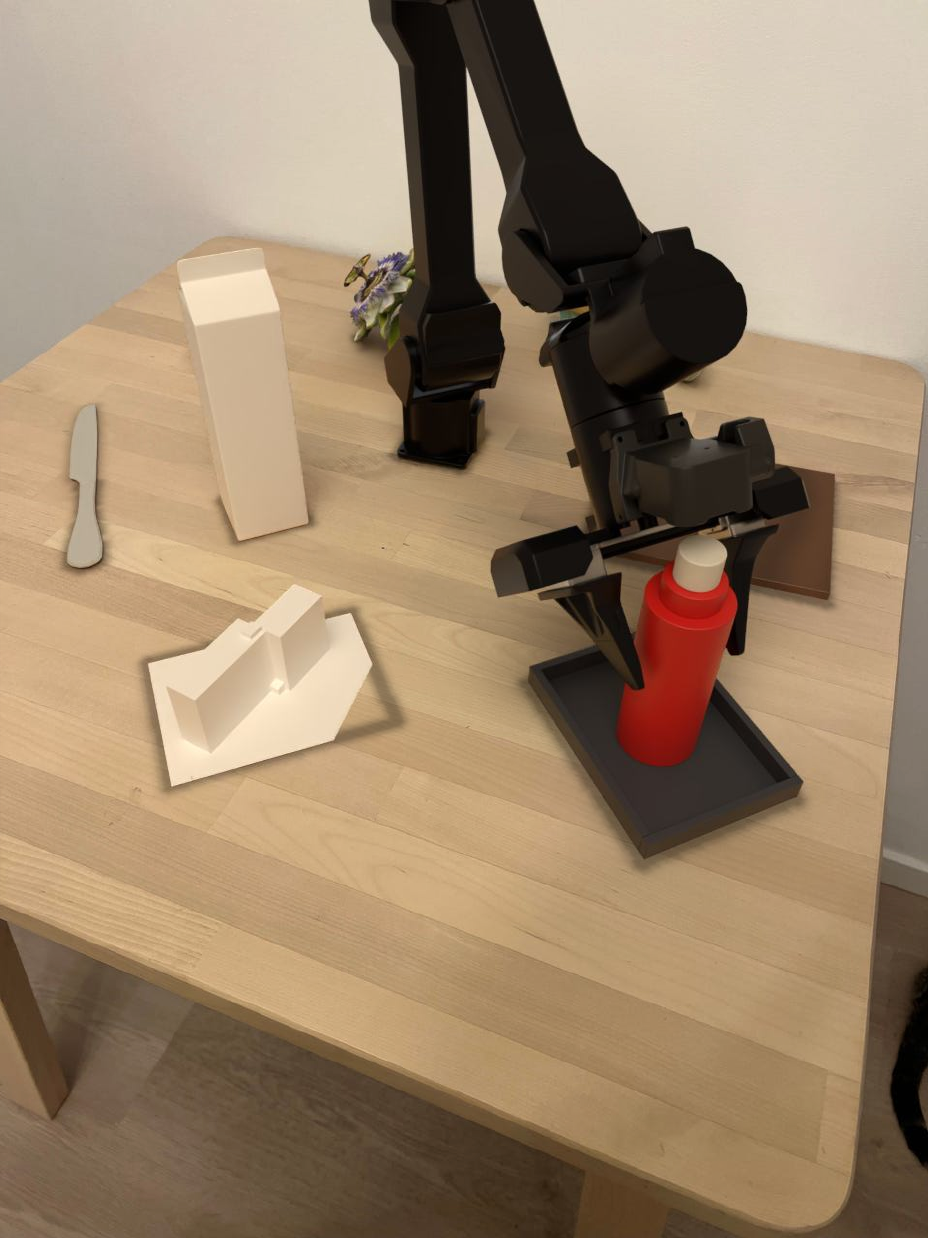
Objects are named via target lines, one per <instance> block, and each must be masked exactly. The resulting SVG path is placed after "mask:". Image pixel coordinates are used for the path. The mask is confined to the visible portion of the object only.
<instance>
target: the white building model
mask: <svg viewBox="0 0 928 1238" xmlns="http://www.w3.org/2000/svg"><path fill="white" fill-rule="evenodd" d="M357 626H358V625H357V624H356V622H355V619H354V617H353V615H352V613H351V612H349V613H345V614H340V615H336V616H332V617H329V618H326V615H325V608H324V600H323V595H321V594H319V593H317V592H314V591H312V590H310V589H308V588H305V587H304V586H300V585H298V584H296V583H294V584H292V586H290V587H289V588H288V589H287V590H286V591H285V592H284V593H283V594H282V595H281V596H280V597H279V598H278V599H277V600H276V601H275V602H274V603H272V604H271V606H270V607H268V608H267V609H266V610H265V611H264V612H263V613H261V615H260V616H259V617H258V618H257V619H256V620H254V621H252V620H251V621H249V622H248V621H245V620H243V619H241V618H239V617H238V618H237V619H236V620H234V621H233V622H232V623H231V624H230V625H228V627H227V628H226V629H225V630H224V631H223V632H221V633H220V635H218V636H217V637H216V638H215V639H214V640H213V641H212V642H211V643H209V645H208V646H207V647H205V648H204V649H200V650H196V651H193V652H189V653H184V654H181V655H176V656H172V657H168V658H165V659H161V660H157V661H152V662H148V663H147V667H148V671H149V677H150V682H151V687H152V692H153V697H154V702H155V707H156V713H157V718H158V724H159V728H160V734H161V737H162V744H163V748H164V754H165V759H166V765H167V770H168V775H169V779H170V785H171V787H175V786H179V785H182V784H186V783H190V782H193V781H197V780H200V779H203V778H206V777H210V776H213V775H218V774H221V773H224V772H227V771H232V770H234V769H235V770H236V769H238V768H241V767H245V766H248V765H253V764H255V763H256V764H257V763H259V762H263V761H266V760H269V759H273V758H277V757H280V756H283V755H287V754H290V753H295V752H298V751H301V750H305V749H309V748H312V747H315V746H319V745H322V744H325V743H329V742H334V741H335V739H336V737H337V735H338V733H339V731H340V729H341V727H342V724H343V723H344V721H345V719H346V718H347V715H348V714H349V711H350V709H351V707H352V706H353V704H354V701H355V699H356V697H357V696H358V694H359V691H360V690H361V687H362V686H363V684H364V682H365V680H366V679H367V676H368V675H369V672H370V670H371V669H372V666H373V665H374V664H373V662H372V660H371V657H370V655H369V652H368V650H367V648H366V645H365V643H364V641H363V638H362V636H361V634H360V631H359V629H358V627H357Z"/></svg>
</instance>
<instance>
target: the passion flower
mask: <svg viewBox="0 0 928 1238" xmlns="http://www.w3.org/2000/svg"><path fill="white" fill-rule="evenodd" d="M370 259H371V253H369V252H368V253H367V254H365V255H364V256H362V257H361V258H360V259H359V260H358V262H356V264H354V265H352V268H351V270H350V271H349V273H348V274H347V275H346V277H345V278H344V282H343V287H344V288H347V287H349V286H350V285H351V284H352V283H354V282H357V280H358V278H362V279H363V280H364V282H363V285H361V286H360V287H359V290H358V292H357V293H355V294H354V295H353V302H354V303H355V305H354V307H353V308H352V309H351V310H350V311H349V314H350V315H349V317H350V318H352V322H351V324H354V325H355V326H357V327H358V330H357V331H356V333H355V336H354V338H353V341H354V342H355V343H359V342H362V341H363V340H365V339H366V338H368V337H369V335H370V334H371V332H372V330H373V329H374V328H376V327H377V326H379V334H380V336H381V339H383V340H386V339H387V348H388V351H389V350H390V349H391V347H392V346H393V344H394V343H395V342H396V340H397V339H398V338H400V336H399V312H398V313H396V314H395V316H393V315H394V313H395V311H396V310H397V308H398V307H400V306H401V304H402V302H403V300H404V298H405V296H406V294H407V292H408V290H409V288H410V286H411V284H412V282H413V279H414V277H415V263H414V251H413V247H411V248H410V249H409V252H408V254H405V253H403V252H402V251H397V252H396V253H395V252H392V254H388V255H387V256H383V259H382V260H381V261H380V260H379V259H377V260H376V262H377V265H376V268H374V270H370V272H369V273H368V274H366V273H365V271H364V270H365V268H366V265H367V262H368V261H370ZM388 329H389V333H387V332H388ZM387 334H388V337H387Z"/></svg>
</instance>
